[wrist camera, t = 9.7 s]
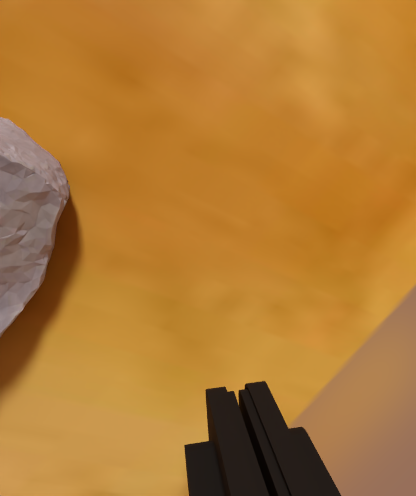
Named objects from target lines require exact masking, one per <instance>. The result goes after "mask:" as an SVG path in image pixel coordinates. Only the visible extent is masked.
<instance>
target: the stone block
mask: <svg viewBox="0 0 416 496" xmlns="http://www.w3.org/2000/svg"><path fill="white" fill-rule="evenodd" d="M69 189H70V186H69V185H68V180H67V179H66V176H65V174H64V171H63V170H62V168H61V165H60V162H59V161H57V160H56V159H55V158H54V157H53V156H52V155H51V154H50V153H49V152H48V151H46V150H44V149H43V148H41V147H40V146H39V145H38V144H37V143H36V142H35V141H33V140H32V139H31V138H30V137H29V136H28V134H27V133H26V132H25V131H24V130H22V129H21V128H19V127H17V126H16V125H15V124H14V123H13V122H12V121H10V120H8V119H4V118H1V117H0V337H1V336H2V334H3V333H4V331H5V330H6V329H7V328H8V327H9V326H10V325H11V324H12V323H13V322H14V320H15V319H16V318H17V316H18V315H19V314H20V313H21V312H22V310H23V309H24V307H25V305H26V304H27V303H28V302H29V300H30V299H31V298H32V297H33V295H34V294H35V293H36V291H37V290H38V289H39V287H40V286H41V284H42V282H43V281H44V278H45V274H46V269H47V264H48V262H49V260H50V257H51V254H52V251H53V249H54V245H55V235H56V228H57V222H58V220H59V218H60V215H61V213H62V212H63V209H64V207H65V205H66V203H67V201H68V199H69Z"/></svg>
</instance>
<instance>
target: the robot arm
mask: <svg viewBox="0 0 416 496" xmlns="http://www.w3.org/2000/svg"><path fill="white" fill-rule="evenodd" d="M206 405H207V419H208V434H209V441H207V442H201V443H194V444H188V445H185V458H186V469H187V479H188V489H189V496H341V495H340V493H339V491H338V489H337V487H336V485H335V484H334V482H333V480H332V478H331V476H330V474H329V473H328V471H327V469H326V467H325V465H324V463H323V461H322V460H321V458H320V456H319V454H318V452H317V450H316V449H315V447H314V445H313V443H312V441H311V439H310V437H309V436H308V434H307V432H306V431H305V429H304V428H303V427H298V428H291V429H288V427H287V425H286V423H285V421H284V418H283V416H282V414H281V412H280V410H279V408H278V406H277V404H276V402H275V400H274V398H273V396H272V394H271V392H270V390H269V388H268V386H267V384H266V382H265V381H262V382H255V383H248V384H245V389H244V390H239V405H238V402H237V399H236V396H235V393H234V391H230V392H227V390H226V387H219V388H212V389H206Z"/></svg>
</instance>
